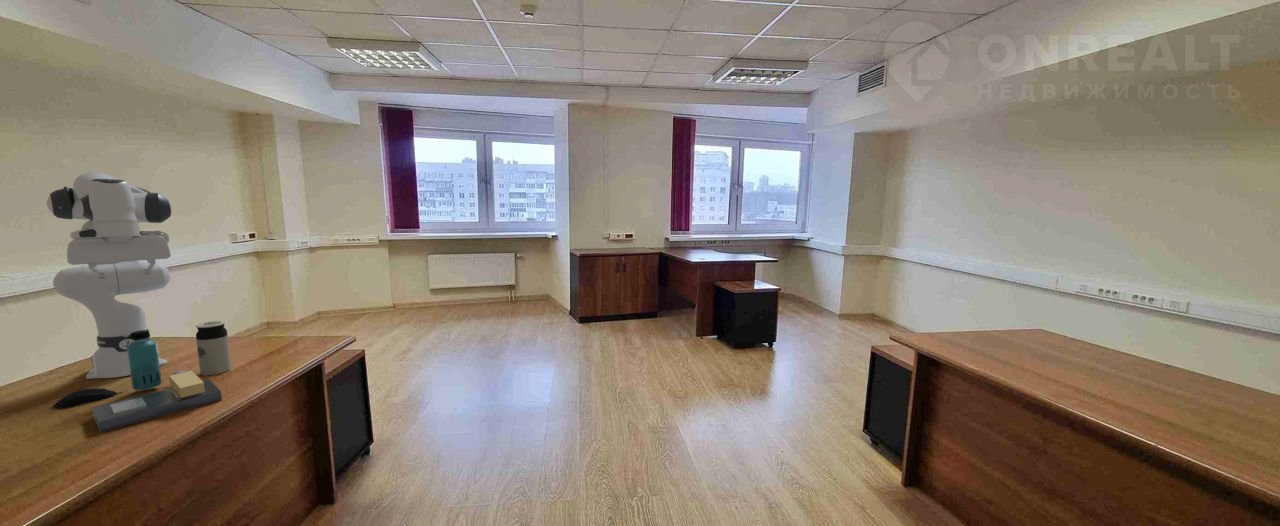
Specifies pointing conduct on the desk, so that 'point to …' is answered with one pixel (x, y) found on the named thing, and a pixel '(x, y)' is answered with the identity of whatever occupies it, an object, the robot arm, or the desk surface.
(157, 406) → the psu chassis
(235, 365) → the desk surface
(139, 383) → the beverage bottle
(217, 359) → the travel mug
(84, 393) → the gaming mouse
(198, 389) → the beige block
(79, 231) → the robot arm
